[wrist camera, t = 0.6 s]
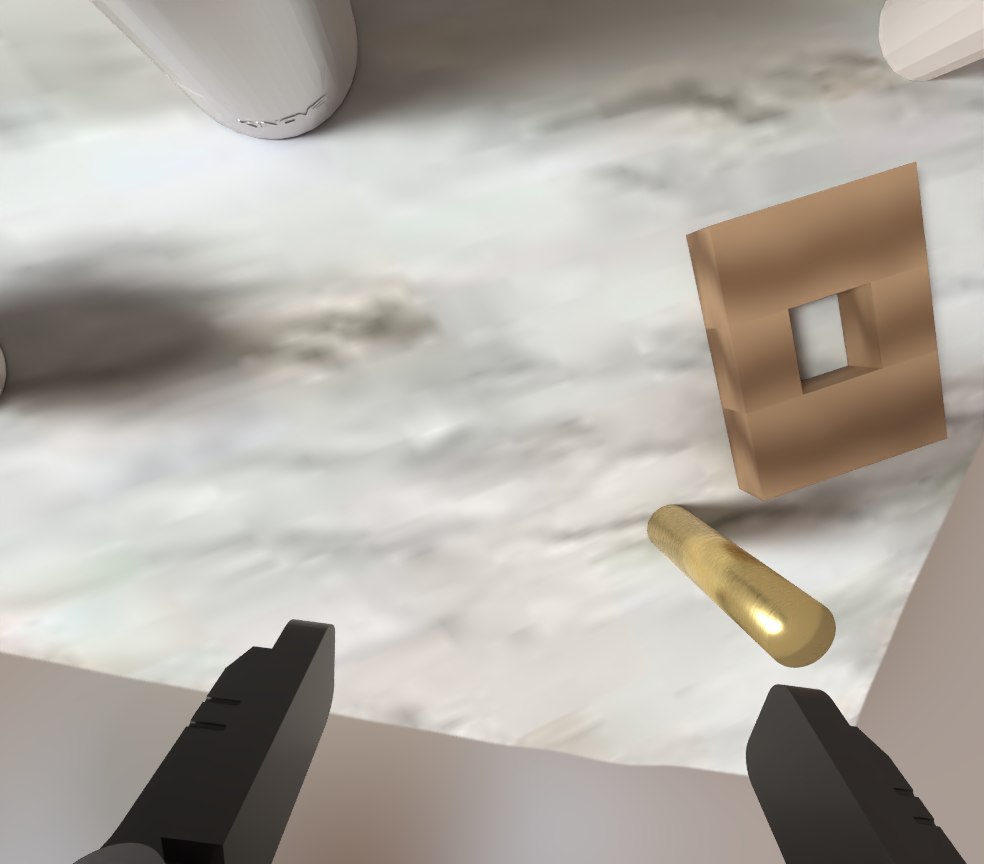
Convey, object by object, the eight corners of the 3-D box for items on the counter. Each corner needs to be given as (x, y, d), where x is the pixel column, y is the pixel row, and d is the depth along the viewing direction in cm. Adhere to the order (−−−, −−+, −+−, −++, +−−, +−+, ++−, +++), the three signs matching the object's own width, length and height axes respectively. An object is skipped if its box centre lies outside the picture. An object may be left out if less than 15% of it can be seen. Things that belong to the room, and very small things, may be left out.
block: (686, 235, 29) (709, 226, 27) (876, 175, 30) (916, 161, 28) (739, 488, 33) (764, 501, 30) (909, 430, 33) (947, 438, 31)
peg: (642, 513, 32) (761, 615, 21) (686, 498, 32) (829, 591, 21) (653, 555, 33) (774, 677, 21) (696, 540, 33) (840, 653, 21)
